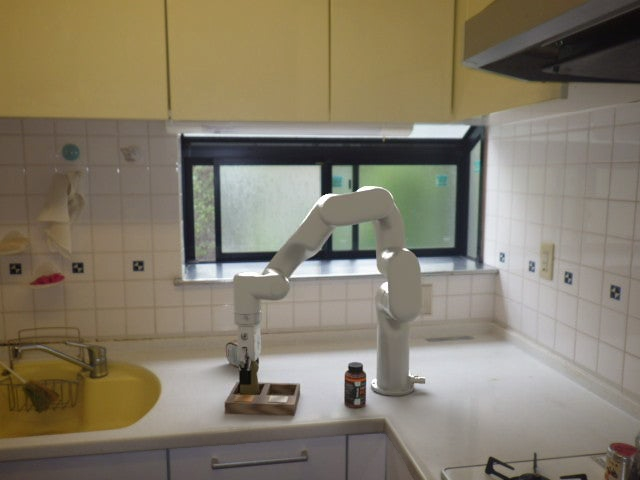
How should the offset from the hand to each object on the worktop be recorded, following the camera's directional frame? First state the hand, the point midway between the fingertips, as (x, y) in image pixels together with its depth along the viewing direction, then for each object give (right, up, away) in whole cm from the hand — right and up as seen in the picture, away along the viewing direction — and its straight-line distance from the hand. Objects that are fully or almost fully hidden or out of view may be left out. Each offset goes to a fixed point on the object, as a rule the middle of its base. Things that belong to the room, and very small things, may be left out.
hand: (249, 377), depth 144 cm
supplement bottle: (+29, -7, -2) cm, 30 cm away
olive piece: (0, -7, +1) cm, 7 cm away
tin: (-6, -4, +25) cm, 26 cm away
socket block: (+4, -7, -2) cm, 8 cm away
